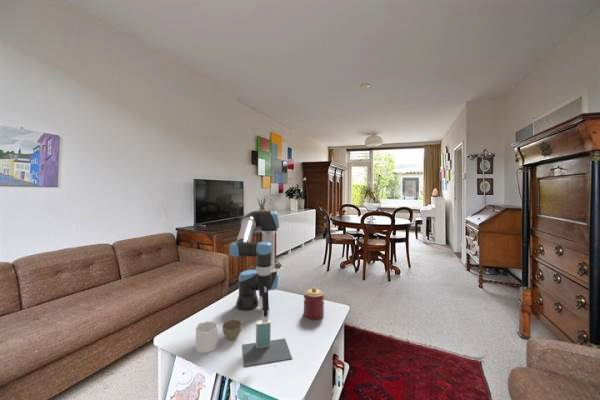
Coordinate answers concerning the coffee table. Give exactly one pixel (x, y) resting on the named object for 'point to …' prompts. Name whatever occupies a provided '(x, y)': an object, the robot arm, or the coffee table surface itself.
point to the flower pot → (232, 329)
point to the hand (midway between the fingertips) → (263, 315)
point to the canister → (313, 304)
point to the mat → (266, 353)
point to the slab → (263, 334)
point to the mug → (206, 337)
